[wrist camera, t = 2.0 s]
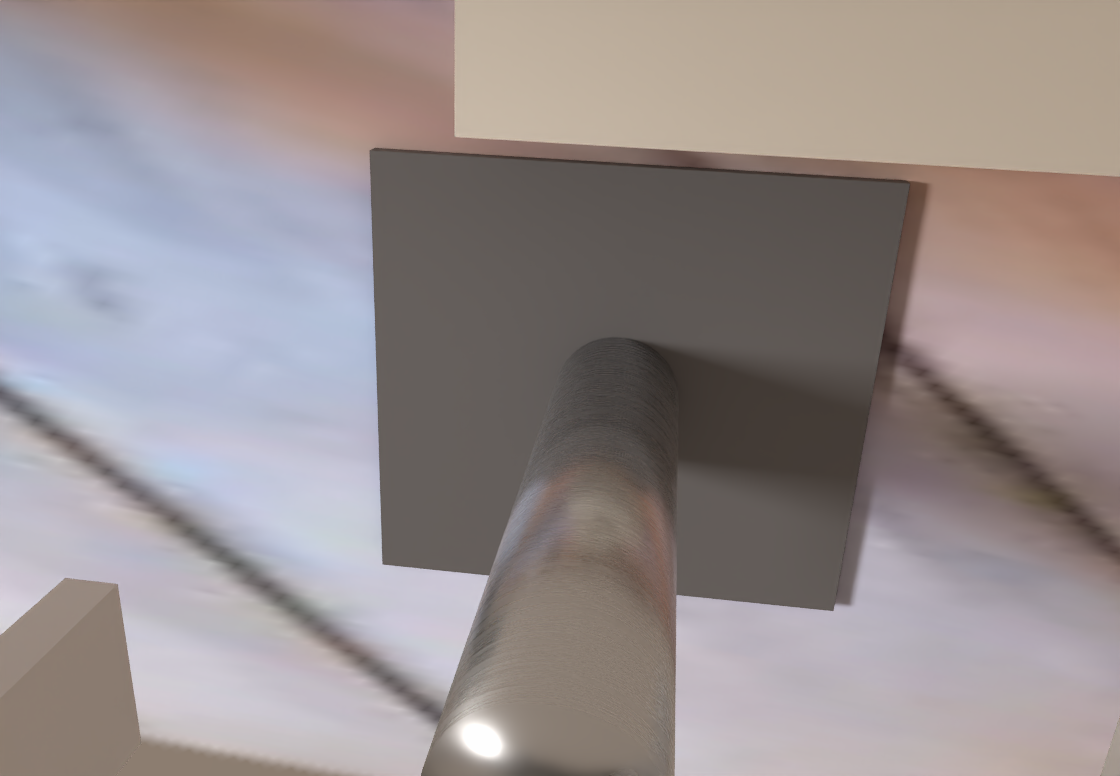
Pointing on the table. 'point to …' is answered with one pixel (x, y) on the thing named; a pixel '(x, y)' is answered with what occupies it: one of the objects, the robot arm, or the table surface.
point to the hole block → (801, 78)
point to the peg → (580, 589)
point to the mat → (640, 314)
